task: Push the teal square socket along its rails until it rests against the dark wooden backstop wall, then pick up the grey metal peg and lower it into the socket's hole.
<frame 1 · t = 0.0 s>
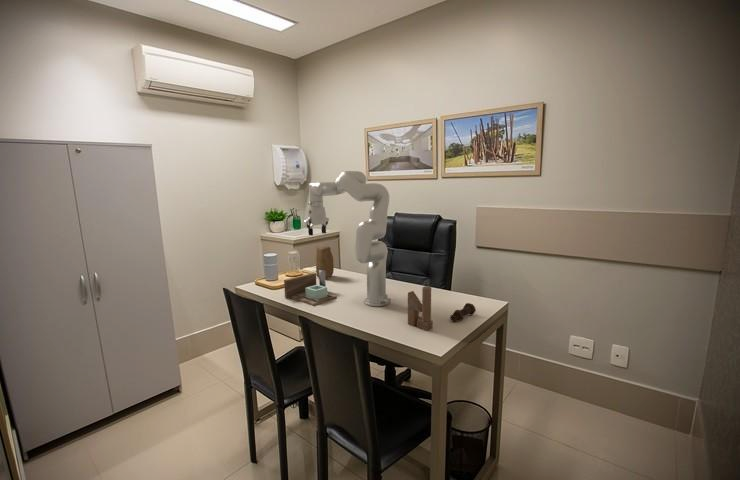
hand: (317, 234, 207), 31 cm above the table, tool pointing down, fingers open, 9 cm apart
peg: (322, 291, 202), on the table
backstop board: (310, 297, 192), on the table
teal square socket: (316, 292, 188), point 4 cm above the table, slide at 0.0 cm
dumbbell: (461, 318, 160), on the table
block: (325, 277, 232), on the table
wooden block: (419, 327, 151), on the table
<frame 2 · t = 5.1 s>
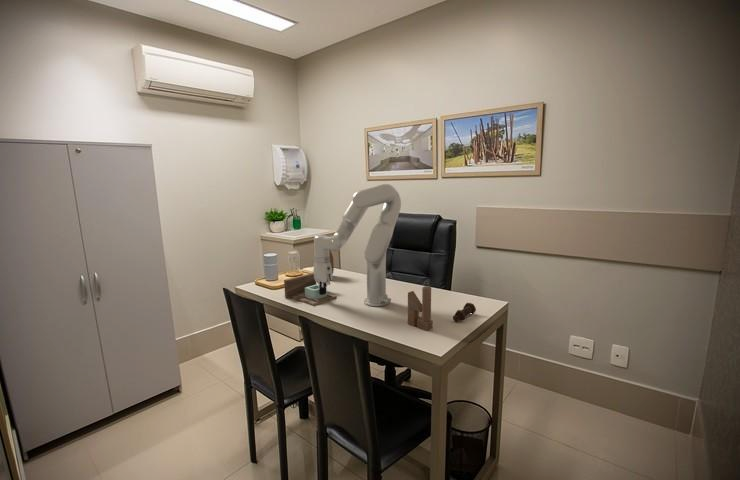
hand: (323, 294, 185), 4 cm above the table, tool pointing down, fingers closed
teal square socket: (315, 292, 189), point 4 cm above the table, slide at 0.5 cm, touching gripper
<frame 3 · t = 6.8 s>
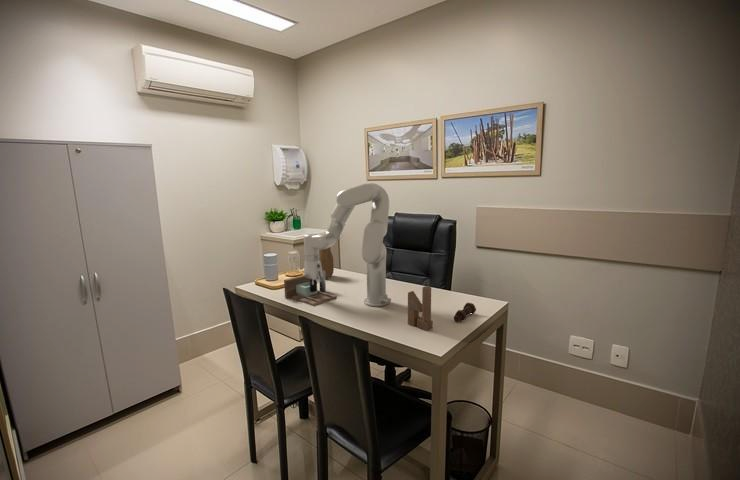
hand: (313, 291, 190), 4 cm above the table, tool pointing down, fingers closed
teal square socket: (306, 289, 194), point 4 cm above the table, slide at 8.2 cm, touching backstop board, gripper
everything else where it was.
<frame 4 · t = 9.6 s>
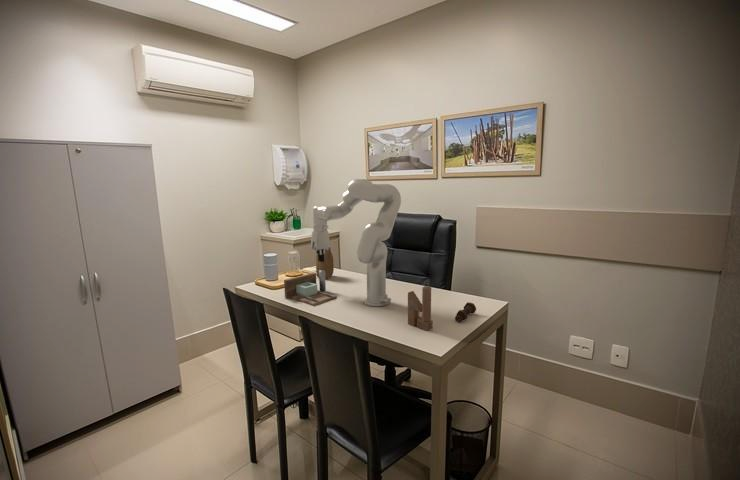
hand: (321, 261, 199), 17 cm above the table, tool pointing down, fingers closed
teal square socket: (306, 289, 194), point 4 cm above the table, slide at 8.0 cm
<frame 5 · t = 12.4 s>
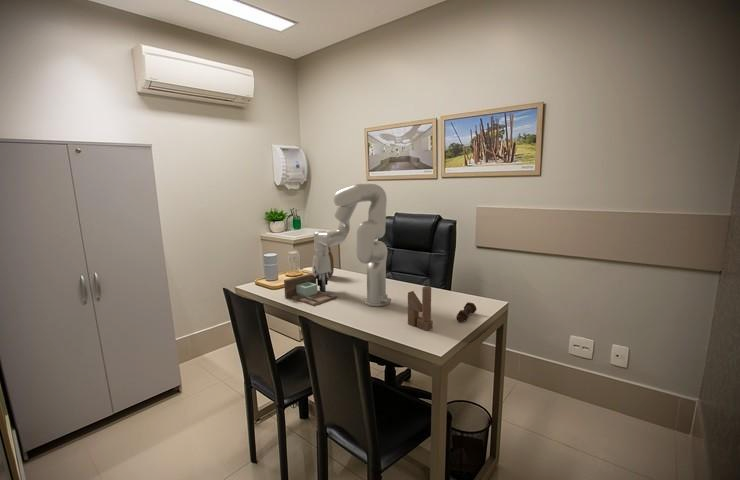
hand: (322, 284, 202), 4 cm above the table, tool pointing down, fingers closed on peg, 3 cm apart
peg: (322, 291, 202), on the table, touching gripper
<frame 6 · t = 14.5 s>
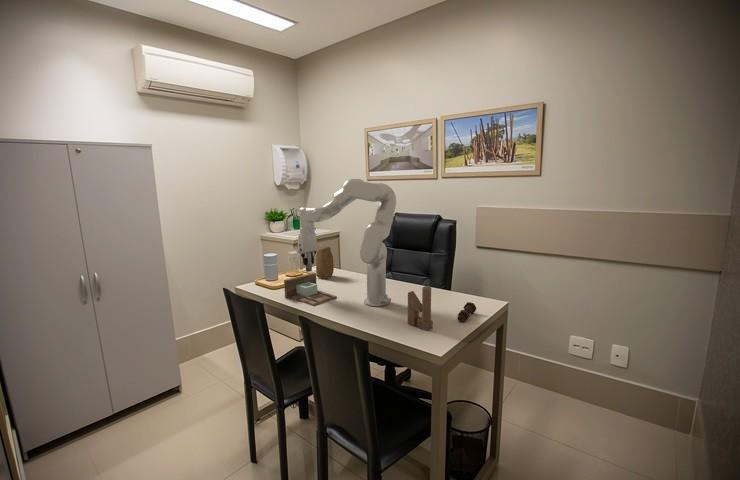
hand: (308, 264, 193), 17 cm above the table, tool pointing down, fingers closed on peg, 3 cm apart
peg: (308, 270, 194), point 14 cm above the table, touching gripper
when the fingers open (7 cm above the table, at t = 16.8 s): peg drops 2 cm, resting on backstop board.
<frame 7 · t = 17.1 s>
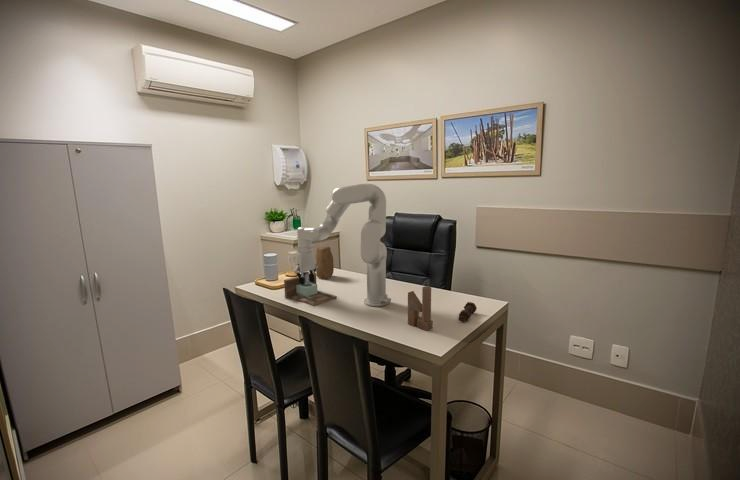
hand: (306, 282, 193), 8 cm above the table, tool pointing down, fingers open, 6 cm apart
peg: (307, 293, 194), point 1 cm above the table, touching backstop board
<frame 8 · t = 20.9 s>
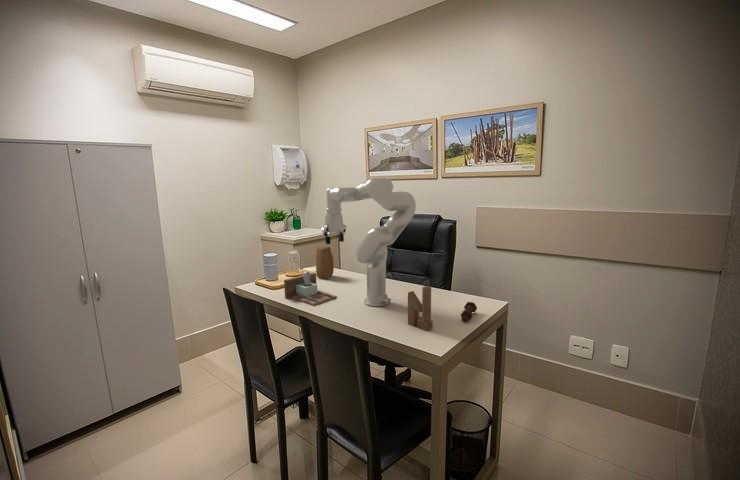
hand: (334, 242, 195), 28 cm above the table, tool pointing down, fingers open, 9 cm apart
at the end: teal square socket slide at 8.0 cm; peg 0.1 cm from the teal square socket (horizontally); peg point 1.0 cm above the table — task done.
